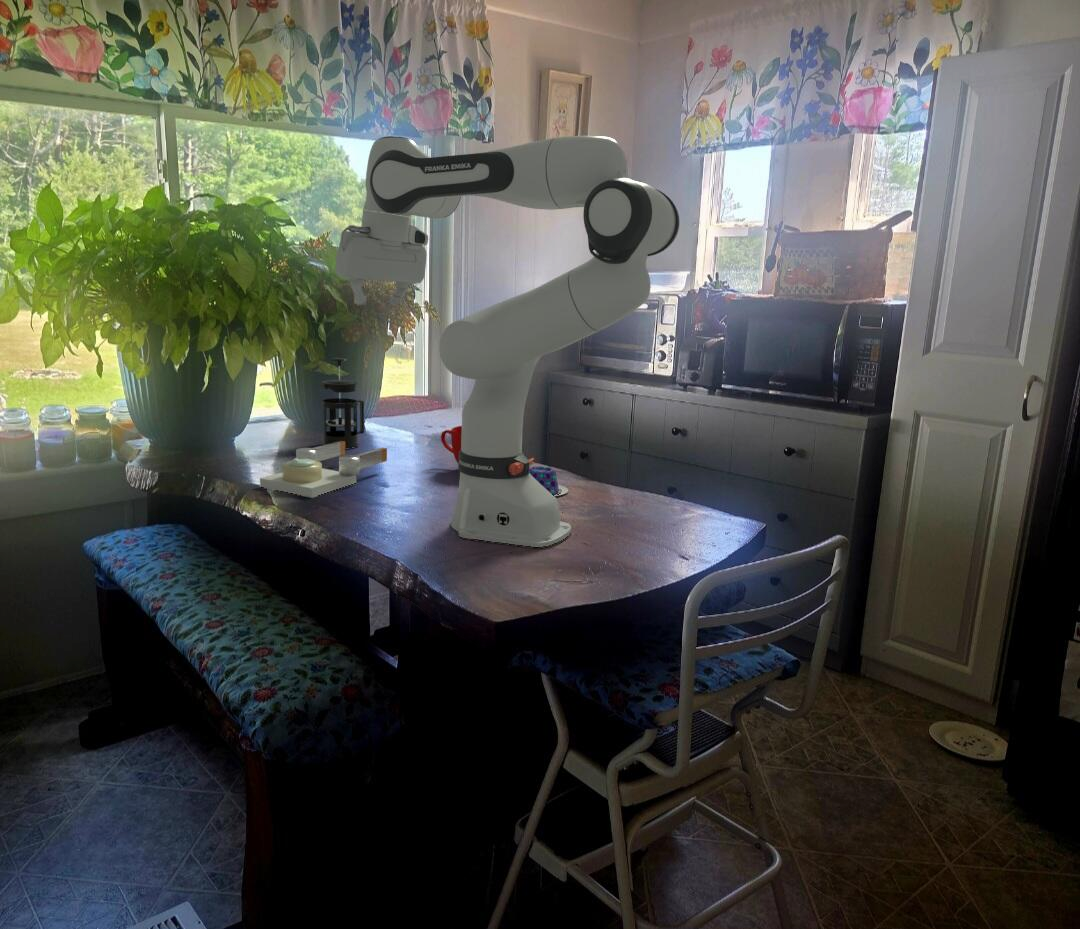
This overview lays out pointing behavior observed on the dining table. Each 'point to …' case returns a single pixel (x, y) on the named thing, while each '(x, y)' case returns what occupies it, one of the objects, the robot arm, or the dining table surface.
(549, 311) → the robot arm
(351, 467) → the near knob
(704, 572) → the dining table surface
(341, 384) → the french press
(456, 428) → the ceramic cup
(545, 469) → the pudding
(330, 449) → the far knob
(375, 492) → the dining table surface
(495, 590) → the dining table surface
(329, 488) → the base
